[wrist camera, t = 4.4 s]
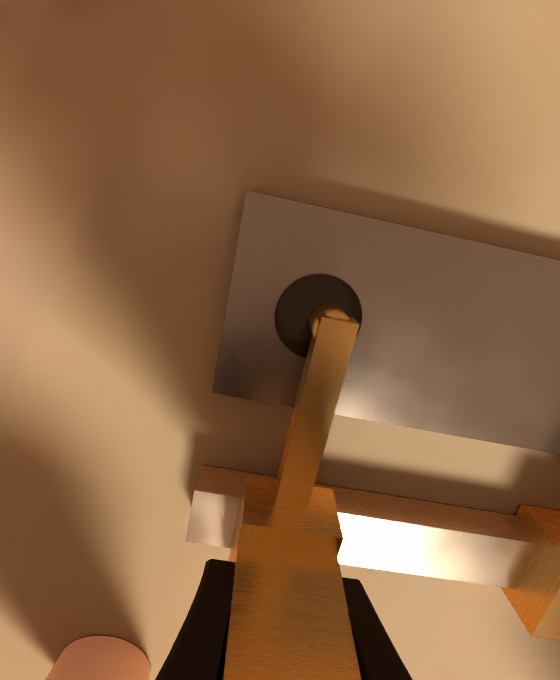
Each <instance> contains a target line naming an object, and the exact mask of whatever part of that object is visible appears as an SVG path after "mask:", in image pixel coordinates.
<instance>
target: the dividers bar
mask: <svg viewBox="0 0 560 680" xmlns="http://www.w3.org/2000/svg"><path fill="white" fill-rule="evenodd" d="M247 476H253V477H259V478H266V479H272V480H277V477H272V476H266V475H260V474H254V473H247V472H241V471H235V470H229V469H223V468H216V467H210V466H204V465H201V469H200V472H199V476H198V479H197V483H196V486H195V489H194V495H193V501H192V507H191V513H190V519H189V525H188V531H187V537H186V542H192V543H199V544H206V545H213V546H220V547H227V548H231V547H232V542H233V538H234V533H235V528H236V524H237V519H238V515H239V510H240V505H241V501H242V496H243V491H244V487H245V482H246V477H247ZM314 486H315V487H322V488H328V489H333V493H334V498H335V502H336V507H337V511H338V516H339V520H340V525H341V529H342V534H343V538H344V539H343V542H342V545H341V548H340V551H339V554H338V561H339V564H345V565H352V566H359V567H366V568H373V569H380V570H387V571H394V572H401V573H408V574H415V575H422V576H429V577H436V578H443V579H450V580H457V581H464V582H471V583H478V584H485V585H492V586H499V587H501V588H502V590H503V591H504V593H505V595H506V596H507V598H508V600H509V601H510V603H511V604H512V606H513V608H514V609H515V611H516V612H517V614H518V616H519V617H520V619H521V620H522V622H523V624H524V625H525V627H526V629H527V630H528V632H529V633H530V635H531V637H539V638H546V639H554V640H560V511H558V510H552V509H546V508H540V507H534V506H528V505H522V504H521V505H520V507H519V509H518V511H517V513H516V515H515V516H514V515H508V514H502V513H496V512H490V511H483V510H477V509H471V508H465V507H459V506H452V505H446V504H440V503H434V502H428V501H421V500H415V499H409V498H403V497H396V496H390V495H384V494H378V493H372V492H365V491H359V490H353V489H347V488H341V487H334V486H328V485H322V484H316V483H314Z"/></svg>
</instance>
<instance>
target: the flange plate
mask: <svg viewBox="0 0 560 680" xmlns="http://www.w3.org/2000/svg"><path fill="white" fill-rule="evenodd" d="M324 303H333V304H336V305H338V306H339V307H341V308H342V310H343V311H344V312H345V313H346V315H347V316H350V317H354V319H355V320H356V321H357V322H358V323H359V328H358V332H357V335H356V339H355V342H354V346H353V349H352V353H351V357H350V360H349V364H348V367H347V371H346V374H345V378H344V381H343V385H342V388H341V392H340V395H339V399H338V402H337V406H336V409H335V413H334V414H336V415H342V416H347V417H353V418H358V419H364V420H370V421H375V422H381V423H387V424H392V425H398V426H404V427H409V428H415V429H420V430H426V431H432V432H437V433H443V434H449V435H454V436H460V437H466V438H471V439H477V440H482V441H488V442H494V443H499V444H505V445H511V446H516V447H522V448H527V449H533V450H539V451H544V452H550V453H556V454H560V260H556V259H552V258H547V257H543V256H538V255H534V254H530V253H525V252H521V251H516V250H512V249H507V248H503V247H498V246H494V245H489V244H485V243H480V242H476V241H472V240H467V239H463V238H458V237H454V236H449V235H445V234H440V233H436V232H431V231H427V230H422V229H418V228H413V227H409V226H405V225H400V224H396V223H391V222H387V221H382V220H378V219H373V218H369V217H364V216H360V215H355V214H351V213H347V212H342V211H338V210H333V209H329V208H324V207H320V206H315V205H311V204H306V203H302V202H297V201H293V200H289V199H284V198H280V197H275V196H271V195H266V194H262V193H257V192H253V191H248V190H246V194H245V200H244V206H243V212H242V218H241V224H240V230H239V236H238V242H237V248H236V254H235V260H234V266H233V272H232V278H231V284H230V290H229V295H228V301H227V307H226V313H225V319H224V325H223V331H222V337H221V343H220V349H219V355H218V361H217V367H216V373H215V379H214V385H213V391H212V393H218V394H223V395H229V396H234V397H240V398H246V399H251V400H257V401H263V402H268V403H274V404H280V405H285V406H291V407H295V403H296V399H297V394H298V390H299V386H300V382H301V378H302V374H303V370H304V366H305V362H306V358H307V354H308V350H309V346H310V342H311V337H312V331H311V328H310V325H309V318H310V315H311V313H312V311H313V310H314V309H315V308H316V307H317V306H319V305H321V304H324Z"/></svg>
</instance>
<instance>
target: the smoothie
mask: <svg viewBox="0 0 560 680" xmlns="http://www.w3.org/2000/svg"><path fill="white" fill-rule="evenodd" d="M149 677H150V664H149V661H148V659H147V657H146V656H145V654H144V653H143V652H142V651H141V650H140V649H139V648H137V647H136V646H135V645H133V644H131V643H129V642H127V641H125V640H122V639H119V638H115V637H110V636H90V637H85V638H81V639H78V640H76V641H74V642H72V643H71V644H69V645H68V646H67V647H66V648H65V649H64V650H63V651H62V653H61V655H60V656H59V658H58V659H57V661H56V663H55V664H54V666H53V668H52V669H51V671H50V673H49V674H48V676H47V677H46V679H45V680H149Z"/></svg>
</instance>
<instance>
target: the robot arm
mask: <svg viewBox="0 0 560 680" xmlns="http://www.w3.org/2000/svg"><path fill="white" fill-rule="evenodd" d="M234 568H235V562H230V561H223V560H215V559H210V560H208V561H207V562H206V564H205V568H204V572H203V576H202V579H201V582H200V585H199V588H198V590H197V593H196V595H195V598H194V600H193V603H192V605H191V608H190V610H189V612H188V615H187V617H186V619H185V621H184V623H183V625H182V628H181V630H180V632H179V634H178V636H177V638H176V640H175V642H174V644H173V647H172V649H171V651H170V653H169V655H168V657H167V659H166V661H165V662H164V664H163V666H162V668H161V670H160V672H159V674H158V675H157V677H156V679H155V680H216V677H217V672H218V667H219V662H220V657H221V652H222V647H223V641H224V636H225V631H226V626H227V621H228V616H229V611H230V606H231V600H232V594H233V581H234ZM342 582H343V587H344V592H345V597H346V602H347V607H348V615H349V619H350V623H351V628H352V633H353V638H354V644H355V649H356V654H357V659H358V664H359V669H360V675H361V680H412V678H411V676H410V674H409V673H408V671H407V669H406V667H405V666H404V664H403V662H402V660H401V659H400V657H399V655H398V653H397V651H396V649H395V648H394V646H393V644H392V642H391V640H390V638H389V636H388V634H387V633H386V631H385V629H384V627H383V625H382V623H381V621H380V619H379V617H378V615H377V613H376V611H375V609H374V607H373V606H372V604H371V602H370V600H369V598H368V596H367V594H366V592H365V590H364V588H363V586H362V584H361V582H360V581H359V580H357V579H350V578H343V577H342Z"/></svg>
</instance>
